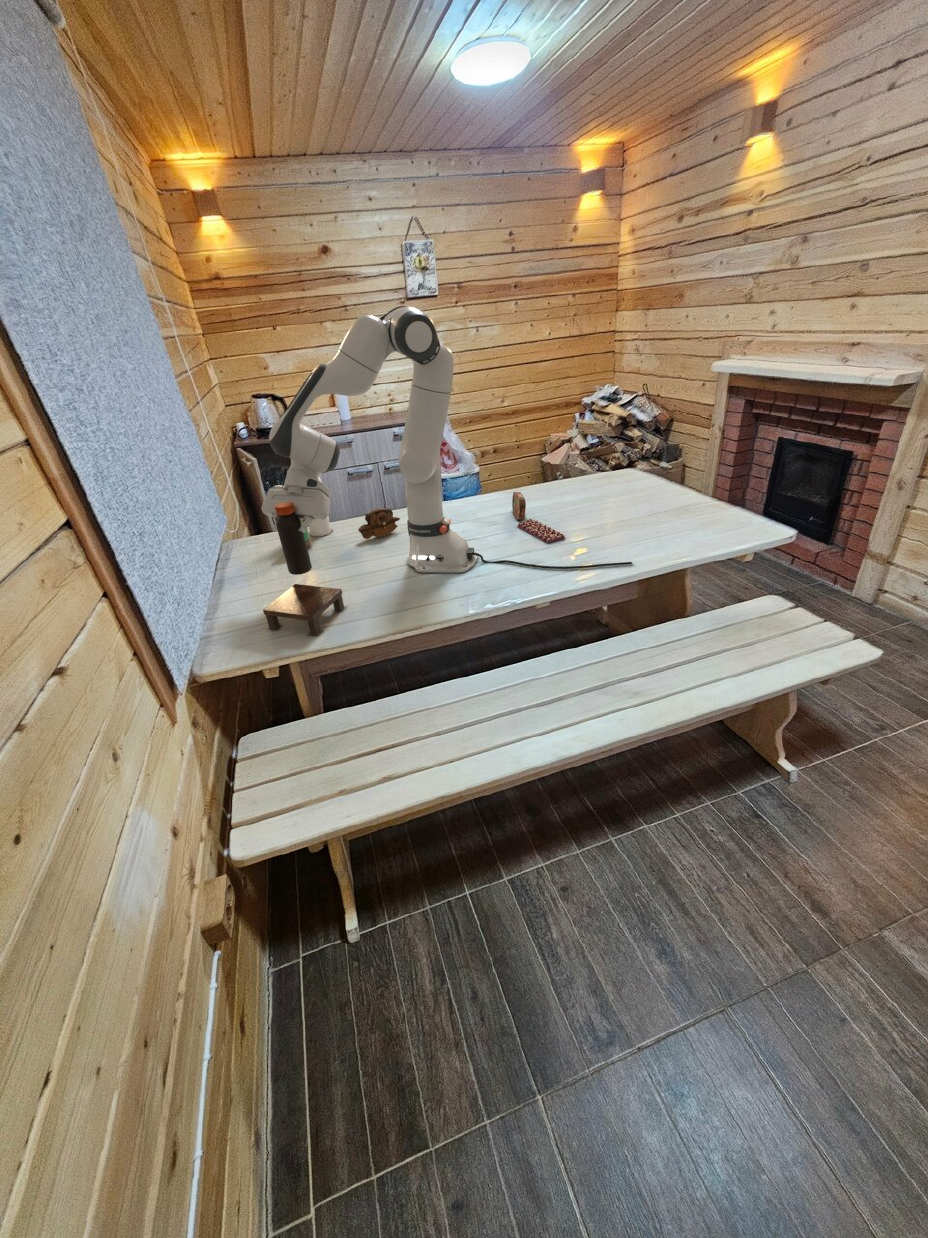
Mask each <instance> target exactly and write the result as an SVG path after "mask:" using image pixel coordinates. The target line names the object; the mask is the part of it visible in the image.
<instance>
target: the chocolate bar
mask: <svg viewBox="0 0 928 1238" xmlns="http://www.w3.org/2000/svg"><path fill="white" fill-rule="evenodd" d="M521 521H522V522H519V523H517V529H520V530H522V531H524V532H526V533H528V534H529V535H532V537H535V538H537V539H539V540H541V541H542V542H544V543H546V544H550V543H555V542H557V541H561V540H565V537H566V535H565V534H564V533H563V532H561V531H557V530H556V529H555V528H551V526H547V524H544V523H542V522H539V521H538V520H536V519H532V518H529V519H526V520H521Z"/></svg>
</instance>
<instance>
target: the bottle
mask: <svg viewBox="0 0 928 1238" xmlns="http://www.w3.org/2000/svg"><path fill="white" fill-rule="evenodd" d="M319 481H320V482H321V483H323V482H322V479H321V477H320V476H319ZM330 522H331V521H330V518H329V516H328V517H327V518H326V519H325V520H318V519H313V520H312V523H311V524H310V525H309V526H308V531H309V533H310V535H311V536H313V537H323V536H327V535H329V534H331V532H332V527H331V523H330Z"/></svg>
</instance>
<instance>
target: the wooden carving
mask: <svg viewBox="0 0 928 1238" xmlns="http://www.w3.org/2000/svg"><path fill="white" fill-rule="evenodd" d="M400 519H401V518H400V517H397V516H394V512H393V510H392V509H391V508H375V509H373V510H370V512H368V513H365V517H364V520H365V521H366V524H362V525H360V526H359V528H358V529H357V530H358V532H359V533H360V534H361V536H362V538H363V539H366V540H368V539H370V538H372V537H375V538H382V537H386V536H388V535H390V534H392V533H393V532H394V531H395V530H397V528H398V524H396V523H397V522H399V521H400Z"/></svg>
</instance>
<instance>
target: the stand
mask: <svg viewBox="0 0 928 1238" xmlns="http://www.w3.org/2000/svg"><path fill="white" fill-rule="evenodd" d="M332 604H333V609H334V611H335V612H342V611H343V610H344V609H345V604H344V599H343V590H342V588H337V587H336V588H335V587H334V588H333V587H327V586H326V587H325V586H318V585H309V584H299V583H294V584H293V585H292V586H290V587H289V588H288V589H287V590H286V591H284V592H283V593H282V594H281V595H280V596H279V597H277V598H276V599H274V600H273V601H272V602H271V603H270V604H268V605H267V606H266V607H265V608H263V609H262V611H263V615H265V618H266V622H267V625H268V629H269V630H276V631H277V629H279V628H280V627H281V624H280V620H279V618H285V619H291V620H292V619H293V620H300V621H306V622H307V627H308V631H309V634H310V636H318V635H319V634H320V633H321V632H322V631H321V625H320V621H319V617H320V616H322V614H323V613H324V612H325V611H326V610H327V609H328V608H329V607H330V606H332Z"/></svg>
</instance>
